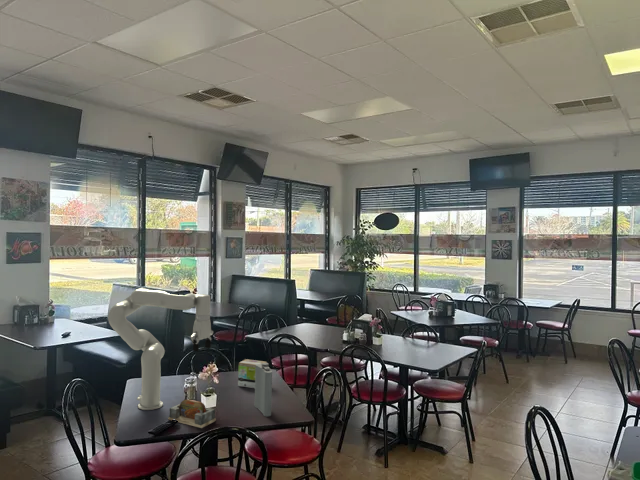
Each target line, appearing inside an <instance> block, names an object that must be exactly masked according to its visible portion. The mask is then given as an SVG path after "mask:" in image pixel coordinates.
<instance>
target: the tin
mask: <svg viewBox="0 0 640 480" xmlns="http://www.w3.org/2000/svg"><path fill="white" fill-rule="evenodd" d="M179 404H180V407H179V409H180V413H181V415H182V416H184V417H186V418H191V419H195V414H196V413H202V414H203V413H205V412H206V409H207V407H206V405H205V404H204V402H202V401H198V400H193V399H183V400H182V401H181V402H180V403H179Z"/></svg>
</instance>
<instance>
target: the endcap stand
mask: <svg viewBox="0 0 640 480" xmlns="http://www.w3.org/2000/svg"><path fill="white" fill-rule="evenodd" d="M180 404H181V403H179V404H176V405H174V406H171V407H169V417H168V418H167V419H168V420H169V421H172V420H173V419H175V420H177V421H178V422H177V423H180V424H184V425H187V426H193V427H195V428H200V429H203V428H205V427H207V426H208V425H210V424H212V423H215V422H216V420H217V418H216V413H215V412H216V409H215V408H210V407H206V412H205V413H203V414H202V413H196V414H195V419H191V418H186V417H184V416H182V415H181V413H180V409H179V407H180Z"/></svg>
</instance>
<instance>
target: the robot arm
mask: <svg viewBox="0 0 640 480" xmlns="http://www.w3.org/2000/svg"><path fill="white" fill-rule="evenodd" d="M143 306H144V307H147V306H148V307H155V308H156V307H157V308H158V307H160V308H163V309H164V308H165V309H170V310H171V309H172V310H178V311H179V310H180V311H181V310H183V311H187V310H191V309H193V308H194V307H195V320H194V323H193V328H192V334H191V335H190V341H191V343H192V351H193V352H199V345H200V344H199V342H200V341H201V340H205V342H204V343H205V344H204V347H205V348H207V349H210V348H211V345H212V344H211V343H212V339H213V334H214V330H212V324H211V295H209V294H201V293H200V294H196V293H186V294H185V295H183V294H179V295H178V294H172V293H171V294H170V293H168V292H167V291H165V290H155V289H154V290H153V289H148V288H145V287H140V288H137V289H135V290H133V291H132V292H131V293H130V295H129V296H128V297H126V298H125V299H124V300H122V301H120V302H117V303H115V304H114V305H113V306H112V307H111V308H110V310H109V312H108V315H107V317H108V319H107V320H108V323H109V325H110V327H111V328H112V329H113V331H114V332H116V333H117V335H119V337H121V339H122V340H123V341H124V342H125V343H126V344H127V345H128V346H129V347H130V349H132V350H134V351H140V350H141V351H142V353H141V357H140V361H141V362H140V364H141V389H140V390H141V392H140V393H141V395H138V397H137V398H136V400H137V401H139V403H138V404H137V408H138V409H140V410H142V411H151V410H157V409H160V408H162V407H163V405H164V402H163V401H161V379H162V378H161V376H162V375H161V373H162V371H161V369H162V368H161V360H162V358H163V357H164V355H165V352H166V350H165V347H164V346H163V344H162V343H161V342H160V341H159V340H158V339H157V338H156V337H155V336H154V335H153V334H152V333H151V332H150V331H149V330H146V329H142V328H141V329H138V328H137V327H136V326H135V325H134V324H133V323H132V322H131V321H129V320H128V319H127V317H129V316H130V315H132V314H133V313H135V312H136V311H137V310H139V309H140V308H141V307H143Z"/></svg>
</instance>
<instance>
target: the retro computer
mask: <svg viewBox="0 0 640 480" xmlns="http://www.w3.org/2000/svg"><path fill="white" fill-rule="evenodd" d="M262 363H268V362H267V361H263V360H256V359H255V360H254V359H248V358H247V359H246V358H244V359H243V360H242V361H240V362H238V370H237V371H238V372H237V373H238V374H237V375H238V377H237V387H245V388H252V389H255V371H256V364H262Z"/></svg>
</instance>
